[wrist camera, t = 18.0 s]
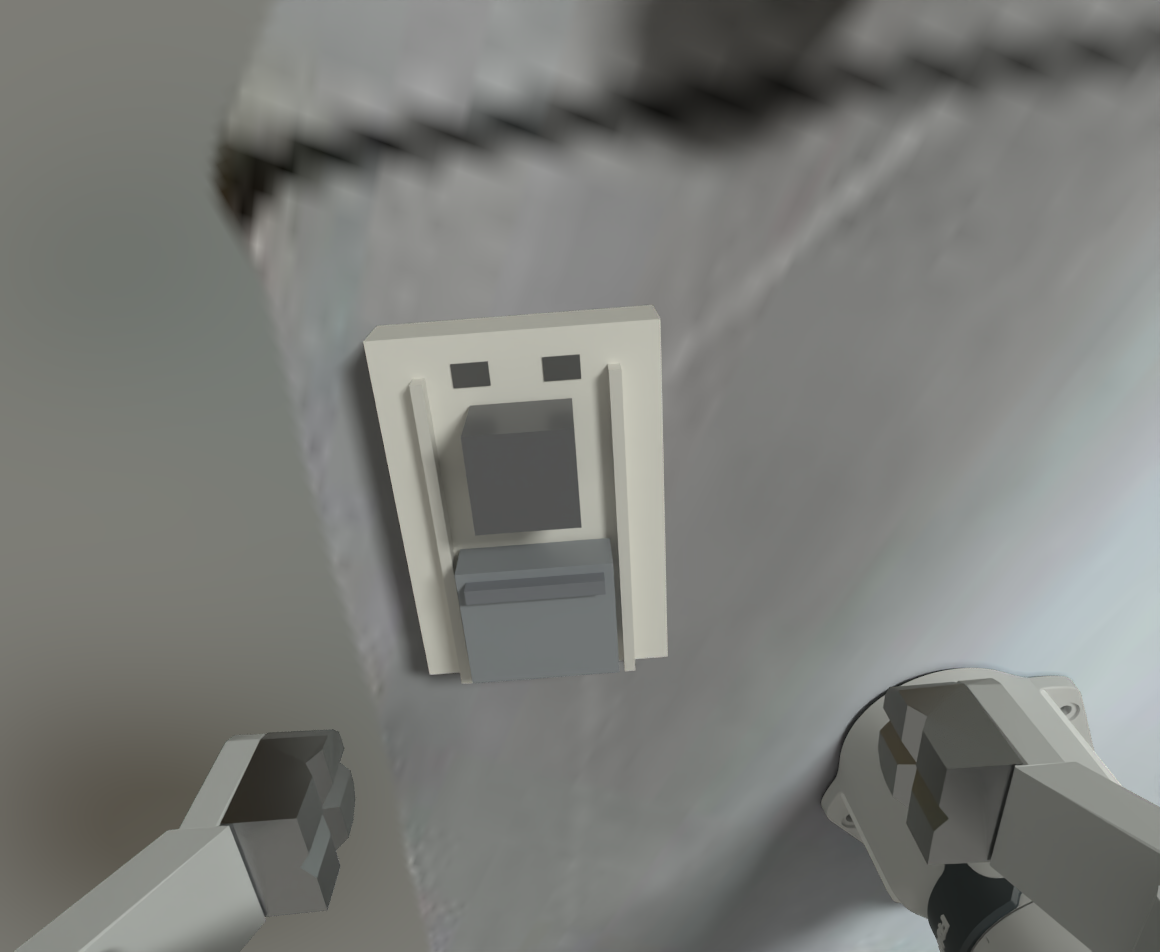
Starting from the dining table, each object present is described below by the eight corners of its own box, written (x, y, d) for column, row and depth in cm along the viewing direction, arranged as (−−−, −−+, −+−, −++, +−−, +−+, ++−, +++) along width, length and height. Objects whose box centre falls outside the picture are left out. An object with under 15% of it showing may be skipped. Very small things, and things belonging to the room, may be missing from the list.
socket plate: (660, 625, 46) (670, 667, 42) (437, 642, 46) (427, 686, 42) (652, 304, 37) (663, 324, 34) (376, 325, 37) (358, 347, 34)
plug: (576, 463, 41) (581, 527, 34) (487, 470, 41) (475, 535, 34) (570, 377, 39) (574, 428, 32) (475, 384, 39) (460, 437, 32)
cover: (615, 643, 42) (620, 682, 39) (476, 653, 42) (471, 693, 39) (609, 537, 39) (614, 571, 36) (460, 549, 39) (452, 584, 36)
